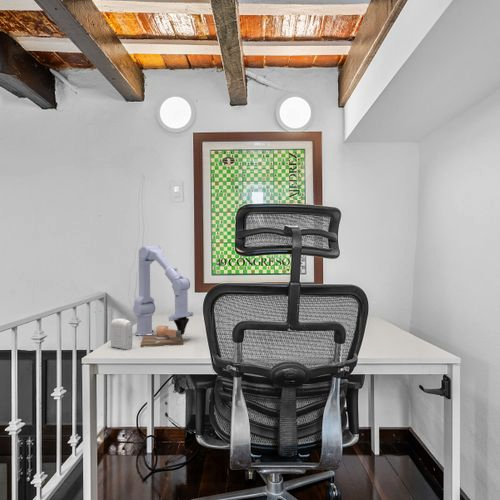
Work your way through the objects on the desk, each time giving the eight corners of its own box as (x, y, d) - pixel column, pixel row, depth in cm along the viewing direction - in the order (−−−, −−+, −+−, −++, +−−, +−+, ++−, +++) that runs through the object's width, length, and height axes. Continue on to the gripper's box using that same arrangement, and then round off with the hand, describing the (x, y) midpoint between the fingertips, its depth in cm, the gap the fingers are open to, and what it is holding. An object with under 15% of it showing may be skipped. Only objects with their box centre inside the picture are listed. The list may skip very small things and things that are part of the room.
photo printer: (134, 347, 165) (133, 319, 165) (126, 350, 161) (126, 320, 161) (117, 345, 170) (116, 316, 170) (109, 347, 166) (109, 318, 166)
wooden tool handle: (154, 335, 176) (154, 327, 176) (162, 333, 180) (162, 325, 180) (175, 339, 168) (175, 330, 168) (184, 337, 172) (184, 328, 172)
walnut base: (143, 337, 184) (143, 332, 184) (181, 335, 187) (181, 331, 187) (140, 347, 166) (140, 342, 166) (183, 344, 169) (183, 339, 169)
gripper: (176, 307, 169) (177, 338, 169) (198, 303, 181) (198, 332, 181) (165, 306, 172) (165, 336, 172) (186, 302, 185) (186, 330, 185)
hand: (181, 334), depth 177 cm, fingers closed
